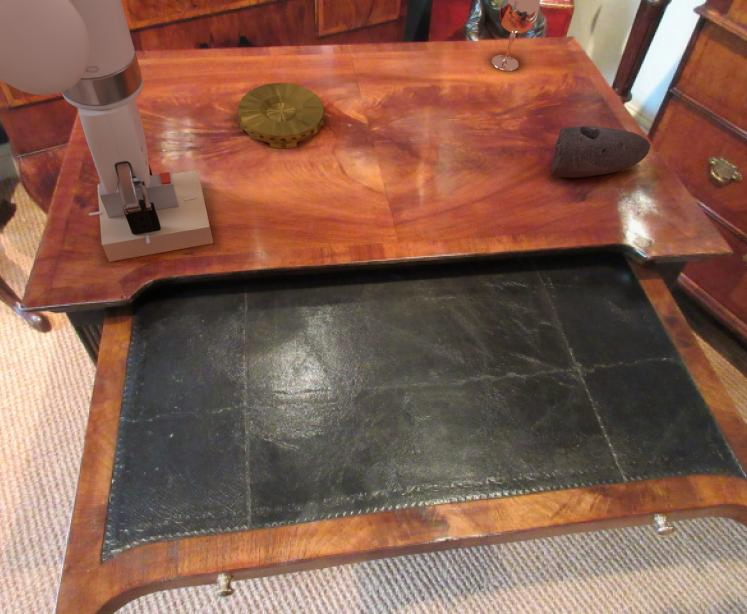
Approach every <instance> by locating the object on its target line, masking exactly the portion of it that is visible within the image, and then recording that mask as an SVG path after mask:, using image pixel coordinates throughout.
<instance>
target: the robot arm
mask: <svg viewBox="0 0 747 614" xmlns="http://www.w3.org/2000/svg"><path fill="white" fill-rule="evenodd" d="M0 81H2V82H4V83H5V84H7V85H9V86H10V87H12V88H14V89H16V90H18V91H19V92H22V93H25V94H29V95H34V96H53V95H58V94H60V93H61V95H62V97H63V99H64V100H65V101H66V102H67V103H68V104H70V105H71V106H73V107H75V108H76V109H77V112H78V116H79V121H80V124H81V127H82V130H83V135H84V137H85V140H86V143H87V146H88V149H89V152H90V155H91V158H92V161H93V164H94V167H95V169H96V173H97V175H98V178H99V181H100V183H101V184H102V187H103V190H104V191H105V192H107V193H108V194H109V193H115V192H116V190H117V186H118V190H119V193H120V197H121V201H122V204H123V211H124V213H125V216H126V219H127V221H128V224H129V227H130V229H131V232H132V234H134V235H137V234H143V233H149V232H155V231H159V230H161V225H160V222H159V219H158V216H157V213H156V209H155V206H154V203H150V199H149V195H148V191H147V187H148V186H149V184H150V183H151V180H150V176H151V175H153V172H152V168H151V165H150V162H149V155H148V153H149V152H148V147H147V140H146V135H145V130H144V125H143V124H144V123H143V121H142V117H141V112H140V109H139V105H138V102H137V97H138V96H139V95H140V94H141V93H142V90H143V88H144V78H143V75H142V71H141V67H140V64H139V60H138V56H137V53H136V49H135V47H134V43H133V39H132V34H131V32H130V28H129V24H128V21H127V17H126V13H125V10H124V6H123V1H122V0H0ZM133 178H137V179H138V180H139V181H135V182H134V179H133ZM139 188H141V191H142V195H143V199H144V200H142V199H141V200H139V198H138V196H137V192H136V189H139Z"/></svg>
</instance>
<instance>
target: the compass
mask: <svg viewBox="0 0 747 614" xmlns="http://www.w3.org/2000/svg"><path fill="white" fill-rule="evenodd" d="M237 107H238V108H237V112H238V120H239V126H240V129H241V132H242V133H244V132H245V133H246V134H248V136H250V137H253V138H254V139H256V140H258V141H261V142H264V143H268V144H269V148H272V149H293V148H297V147H298V143H299V142H302V141H303V142H304V141H305V140H307V139H309V138H311V137H313V136H314V135H315V134H317V132H319V130H321V128H323V127H324V122H325V121H324V120H325V119H324V113H325V112H324V109H325V108H324V104H323V101H322V100H321V98H320V97H319V96H318V95H317V94H316V93H315V92H314V91H312V90H311V89H309V88H307V87H305V86H302V85H299V84H295V83H288V82H273V83H267V84H262V85H259V86H256V87H255V88H252V89H250V90H249V91H248V92H246V93H245V94H244V95H243V96H242V98H241V99H240V100H239V102H238V106H237Z"/></svg>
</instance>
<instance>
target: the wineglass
mask: <svg viewBox="0 0 747 614" xmlns="http://www.w3.org/2000/svg"><path fill="white" fill-rule="evenodd" d="M540 5H541V0H502V3H501V5H500V8H499V9H500V10H499V22H500V24H501V27H502V28H503V29H504V30H505V31H507V32H509V33H510V34H509V35H508V46H507V50H506V52H505V54H497V55H495V56H493V57H492V59H491V63H492V65H493V66H494V67H495V68H496V69H498V70H501V71H504V72H512V71H515V70H517V69H518V68H519V61H518V60H517V59H516V58H515V57H513V56H511V55H510V52H511V48H512V46H513V44H514V42H515V39H516V35H517V34H523V33H526V32H528V31H530V30H531V29H532V28H533V26H534V25H535V24H536V22H537V19H538V15H539V12H540Z"/></svg>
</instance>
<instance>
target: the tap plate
mask: <svg viewBox="0 0 747 614" xmlns="http://www.w3.org/2000/svg"><path fill="white" fill-rule="evenodd" d="M171 174H172V178H173V182H174V185H175V189H176V193H177V197H178V203H179V206H177V207H171V208H165V209H159V210H156V213H157V216H158V219H159V222H160V225H161V230H159V231H155V232H149V233H143V234H137V235H134V234H132V232H131V229H130V227H129V224H128V221H127V219H126V216H125V215H122V216H116V217H110V218H109V217H108V215H107V212H106V210H105V208H104V205H103V203H102V200H101V198H100V195H99V184H96V185H97V200H98V211H93V212H89V213H88V216H89V217H93V216H99V223H100V224H99V225H100V240H101V246H102V249H103V251H104V253H105V256H106V258H107V260H108V262H115V261H121V260H126V259H132V258H138V257H145V256H148V255H154V254H155V255H156V254H160V253H166V252H171V251H172V252H173V251H176V250H177V251H178V250H183V249H189V248H194V247H200V246H205V245H212V244H214V238H213V235H212V230H211V226H210V225H211V224H210V220H209V215H208V210H207V205H206V201H205V197H204V192H203V186H202V182H201V179H200V174H199V170H198V169H194V170H187V171H181V172H174V173H171ZM157 247H158V248H157ZM145 249H146V250H145ZM139 250H141V251H139ZM123 253H124V254H123ZM117 254H118V255H117ZM111 255H112V256H111Z"/></svg>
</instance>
